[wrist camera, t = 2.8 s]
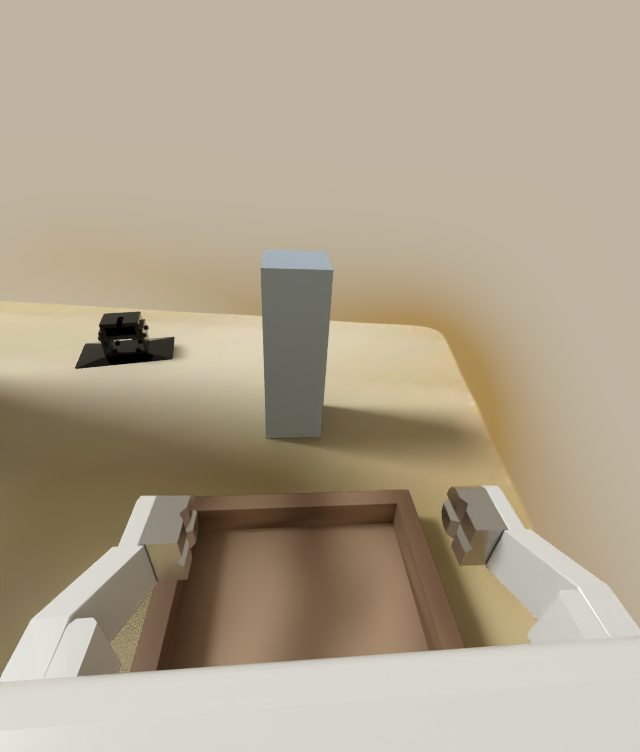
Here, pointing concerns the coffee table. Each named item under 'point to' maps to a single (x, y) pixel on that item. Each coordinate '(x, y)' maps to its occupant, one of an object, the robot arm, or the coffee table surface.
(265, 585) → the tray
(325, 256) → the block
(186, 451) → the coffee table surface
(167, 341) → the black bracket mount
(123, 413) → the coffee table surface
